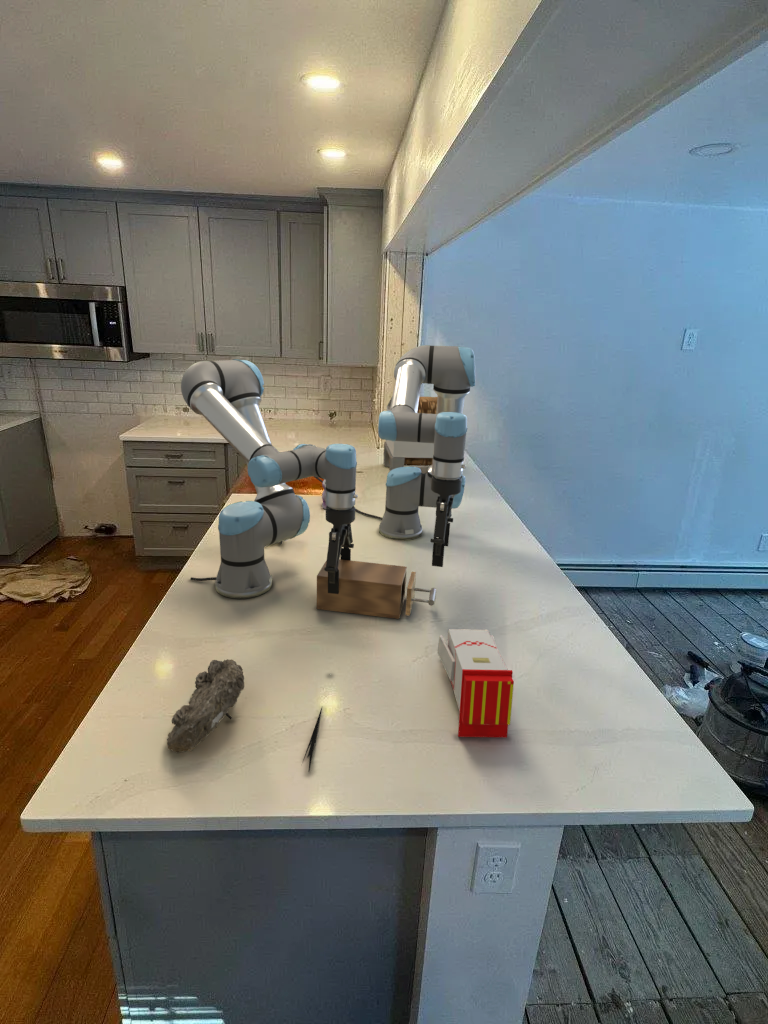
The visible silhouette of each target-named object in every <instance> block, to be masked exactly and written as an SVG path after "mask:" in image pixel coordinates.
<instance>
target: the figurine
mask: <svg viewBox="0 0 768 1024" xmlns="http://www.w3.org/2000/svg"><path fill="white" fill-rule="evenodd" d="M322 481H323V483H322V482H321V484H322V485H321V486H322V488H323V491H322V493H321V499H322V503H321V507H322V509H325V510H326V506H327V505H326V480H325V479H323V480H322Z"/></svg>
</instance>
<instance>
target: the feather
mask: <svg viewBox="0 0 768 1024" xmlns="http://www.w3.org/2000/svg"><path fill="white" fill-rule="evenodd" d="M329 675H330V676H331V675H332V674H331V673H330V674H329ZM322 710H323V707H321V708H320V710H319V713H318V716H317V719H316V723H315V725H314V728H313V731H312V733H311V737H310V739H309V742H308V745H307V748H306V751H305V754H304V757H303V760H302V763H301V767H302V765H303V763H304V761H305V758H308V759H309V760H308V762H307V763H308V764H307V766H308V771H310V770H311V766H312V765H311V764H312V760H313V757H315V756H314V755H315V751H316V749H315V746H317V739H318V733H319V729H320V722H321V717H322V712H323V711H322ZM313 754H314V755H313ZM306 755H307V757H306Z"/></svg>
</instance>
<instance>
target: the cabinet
mask: <svg viewBox="0 0 768 1024" xmlns="http://www.w3.org/2000/svg"><path fill="white" fill-rule="evenodd" d="M326 562H327V559H326V561H325V562H324V563H323V565H322V567H321V569H320V570H319V571H318V573H317V575H316V609H317V610H321V611H322V610H323V611H331V612H339V613H347V614H353V615H354V614H356V615H364V616H372V617H380V618H387V619H396V620H400V618H401V614H402V610H403V608H404V604H405V601H406V590H407V587H406V586H407V574H408V573H407V572H408V571H407V570H408V567H407V566H406V565H405V566H404V565H395V564H387V563H386V564H385V563H378V562H368V561H359V560H341V559H340V560H339V566H338V570H339V594H332V593H328V572H326V571H325V570H324V568H326ZM405 574H406V576H405ZM404 577H405V591H404V599H403V603H402V606H401V590H402V584H403V581H404ZM400 606H401V610H400Z"/></svg>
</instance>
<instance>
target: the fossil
mask: <svg viewBox="0 0 768 1024" xmlns="http://www.w3.org/2000/svg"><path fill="white" fill-rule="evenodd" d="M243 670H244V669H243V667H242V665H240V664H237V662H236V661H235V660H234V659H232V658H231V659H227V658H226V659H224V660H223V661H222V660H217V659H212V660H211V661H210V663H209V665H208V666H207V671H201V672H199V673H198V674H197V675H196V676H195V680H194V684H195V685H194V687H195V689H194V690H193V693H192V694H191V697H190V698H189V700H188V704H184V705H182V706H181V707H180V709H177V710H176V711H175V713H174V715H173V716H172V718H171V723H172V724H173V727H172V730H171V731H170V732H168V734H167V738H166V741H167V742H166V745H167V749H168V750H169V751H173V752H174V753H176V754H178V753H182V752H188V751H189V752H192V751H193V750H195V748H196V747H197V746H199V744H200V743H201V742H203V741H204V740H205V739H206V738H207V737H208V736H209V735H210V734H211V733H212V732H214V730H215V729H217V727H218V726H219V724H220V722H221V721H222V720H223V719H224V718H225V716H226V717H227V719H229V720H233V717H232V715H230V714H229V710H230V709H231V708H234V706H235V704H236V703H237V702H238V699H239V697H240V695H241V693H242V691H243V690H245V689H244V688H245V675H244V671H243Z"/></svg>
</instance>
